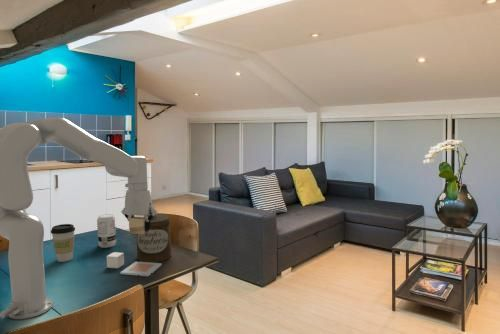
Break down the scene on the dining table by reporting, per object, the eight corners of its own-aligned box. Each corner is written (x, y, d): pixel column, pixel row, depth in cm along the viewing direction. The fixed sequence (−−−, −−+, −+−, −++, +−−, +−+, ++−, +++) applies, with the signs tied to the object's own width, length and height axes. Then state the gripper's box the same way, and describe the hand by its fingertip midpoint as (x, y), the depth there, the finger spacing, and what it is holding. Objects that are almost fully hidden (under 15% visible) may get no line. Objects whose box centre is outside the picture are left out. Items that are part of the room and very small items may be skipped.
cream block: (117, 268, 155) (117, 256, 154) (107, 267, 156) (106, 256, 155) (124, 264, 160) (123, 252, 159) (113, 263, 161) (113, 252, 160)
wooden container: (135, 264, 160) (133, 213, 157) (139, 252, 174) (136, 206, 172) (171, 261, 162) (169, 212, 160) (171, 250, 177) (169, 204, 174)
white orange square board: (148, 276, 146) (148, 274, 146) (120, 274, 149) (120, 271, 149) (161, 265, 158) (161, 263, 158) (135, 263, 160) (135, 261, 160)
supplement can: (98, 244, 187) (96, 215, 185) (115, 242, 190) (114, 213, 189) (99, 249, 180) (97, 218, 178) (117, 246, 183) (115, 216, 181)
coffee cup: (47, 260, 164) (45, 227, 163) (67, 254, 173) (65, 222, 171) (62, 264, 160) (59, 230, 158) (81, 257, 168) (79, 225, 167)
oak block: (143, 233, 148) (142, 219, 147) (129, 233, 149) (128, 218, 149) (150, 229, 154) (149, 215, 153) (137, 229, 155) (136, 215, 155)
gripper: (113, 187, 148) (115, 231, 150) (153, 188, 144) (155, 233, 146) (123, 184, 155) (125, 226, 157) (162, 185, 151) (163, 228, 153)
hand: (140, 229), depth 152 cm, fingers closed on oak block, 6 cm apart
